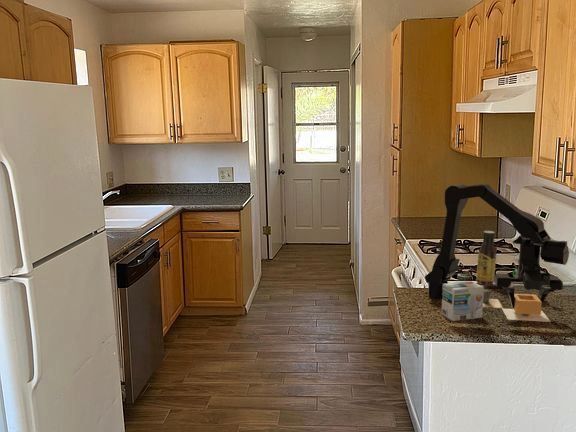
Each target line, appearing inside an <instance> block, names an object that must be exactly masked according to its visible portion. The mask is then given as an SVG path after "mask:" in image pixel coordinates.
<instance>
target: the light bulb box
mask: <svg viewBox="0 0 576 432" xmlns="http://www.w3.org/2000/svg"><path fill="white" fill-rule="evenodd" d="M484 290H485V288H484V285H482V284H478V283H477V282H475V281H473V280H468V281H461V282H460V281H459V282H448V283H447V284H443V291H442V298H441V314H440V315H442V316H444V317H445V318H447V319H448V320H450V321H451V322H450V323H451V324H459V322H457V321H462V320H463V321H465V320H472V319H473V320H474V319H480V318H481V319H482V318H483V308H484V307H483V294H484Z"/></svg>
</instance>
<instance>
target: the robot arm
mask: <svg viewBox="0 0 576 432" xmlns="http://www.w3.org/2000/svg"><path fill="white" fill-rule="evenodd" d="M472 198H480V199H481V200H482V201H484V202H485V203H486V204H488V205H489V206H490V207H492V208H493V209H494V210H495V211H497V212H498V213H499V214H501V215H502V216H503V217H505V218H506V219H507V220H508V221H509V222H510V223H511V225H512V227H513V229H515V231H516V232H517V233H518V234H519V235H518V236H517V237H516V238H515V240H512V244H516V245H519V252H518V253H519V254H518V255H519V256H518V267H517V268H518V275H517V276H518V278H515V277H510V276H509V274H508V273H496V274H494V281H493V282H494V283H493V284H494V285H495V286H496V287H497V288H502V289H503V290H505V291H506V292H507V294H508V298H509V301H510V305H512V306H511V309H513V308H514V305H515V300H514V294H515V290H516V288H515V286H514V285H523V287H524V289H525V290H526V289H527V290H530V289H531V290H537V291H538V295H537V297H538V298H539V299H540V300H541V302H542V305H543V303H544V302H545V299H546V298H547V297H548V296H549V294H551V293H554V292H555V291H556V290H557V291H563V289H564V283H563V281H562V279H560V278H559V277H558V276H556V275H551V274H550V273H549V272H546V273H541V265H540V260H542V261H543V262H545V263H550V264H557V265H563V266H564V265H565V266H566V265H567V263H568V261H569V258H570V251H569V246H568V241H567V240H554V239H552V237H551V236H550V235H549V233H548V232H547V230H546V229H545V223H544V221H543V220H542V219H541V218H539V217H537V216H535V215H534V214H531V213H530V212H526V211H524V210H522V209H520V208H518V207H517V206H516V205H515V204H513V203H512V202H510V201H509V199H506V198H505V197H504V196H503V195H501V194H500V193H499V192H498V191H496V190H495V189H493V188H492V187H491V185H490V184H488V183H480V184H477V185H476V184H474V185H466V184H463V183H460V184H459V183H458V184H454V185H450V186H448V187H446V189H445V191H444V205H445V209H446V214H445V221H444V226H443V232H442V238H441V244H440V251H439V253H438V254H437V256H436V259H435V260H434V262H433V266H432V268H431V271H430V272H429V273H428V274H426V275H425V276H424V279H425V283H427V286H428V287H427V296H428V297H429V298H432V299H440V300H442V291H443V284H447V283H449V281H450V280H451V277H452V276H454V275H456V272H458V271H459V264H460V258H456V253H455V251H456V245H457V241H458V240H457V239H458V234H459V228H460V222H461V218H462V212H463V210H464V209H465V207H466V206H467V203H468V200H469V199H472ZM540 258H541V259H540ZM542 305H541V307H542Z"/></svg>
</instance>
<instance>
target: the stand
mask: <svg viewBox="0 0 576 432" xmlns="http://www.w3.org/2000/svg"><path fill="white" fill-rule="evenodd" d="M490 292H491V291H490V290H488V289H484V294H483V308H492V309H493V308H495V309H502V308H503V309H504V307H503V306H502V305H503V304H501V302H500V301H499V299H497V298H490V297H491V295H490Z"/></svg>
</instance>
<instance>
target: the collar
mask: <svg viewBox="0 0 576 432" xmlns="http://www.w3.org/2000/svg"><path fill="white" fill-rule="evenodd" d="M514 300H515V305H514V308H512V309H514V311H515V312H516V313H520V314H538V315H541V310H542V306H541V305H543V304H542V302H541V300H540V299H539V298H538V295H537V294H533V293H532V294H525V293H514ZM510 305H511V304H510ZM511 307H512V305H511Z"/></svg>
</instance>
